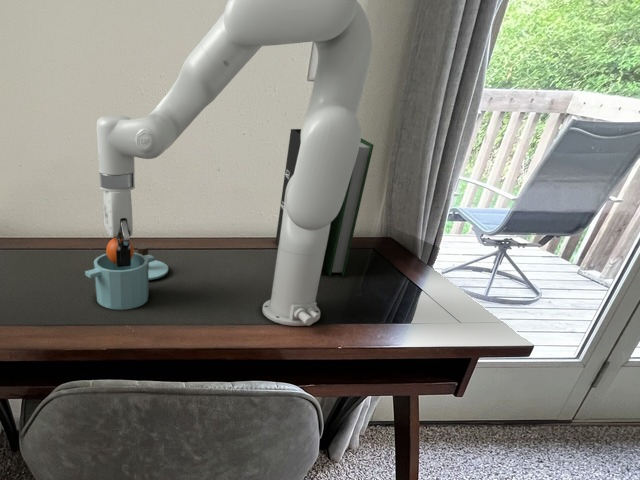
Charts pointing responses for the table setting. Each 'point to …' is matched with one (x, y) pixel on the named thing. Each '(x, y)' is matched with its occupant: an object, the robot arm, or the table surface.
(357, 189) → the green and black books
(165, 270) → the pot lid
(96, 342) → the table surface
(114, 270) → the pot
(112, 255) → the orange
